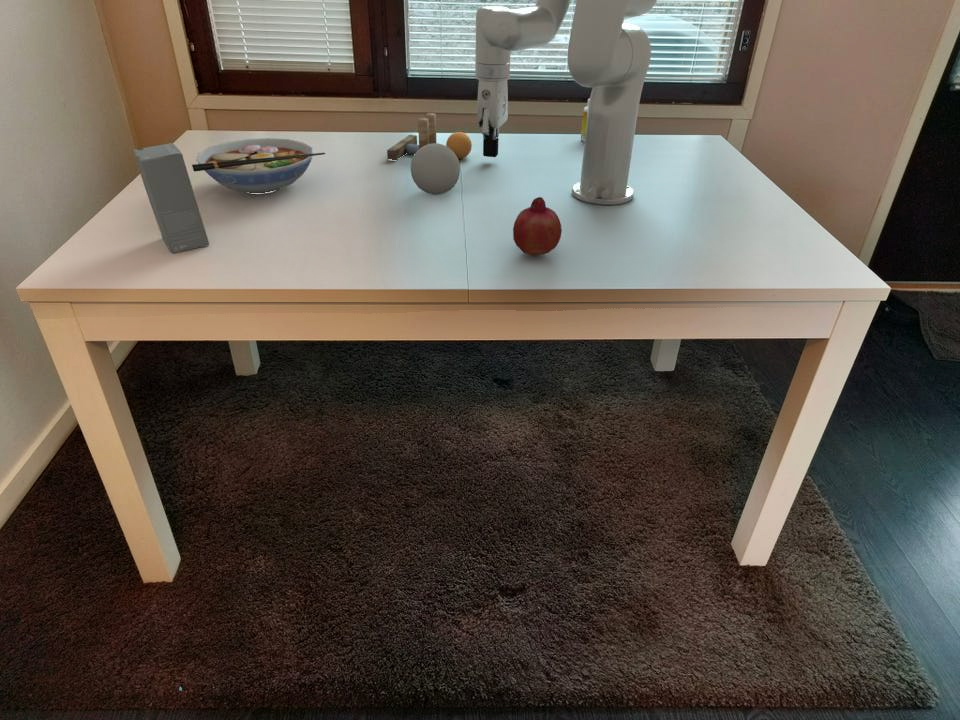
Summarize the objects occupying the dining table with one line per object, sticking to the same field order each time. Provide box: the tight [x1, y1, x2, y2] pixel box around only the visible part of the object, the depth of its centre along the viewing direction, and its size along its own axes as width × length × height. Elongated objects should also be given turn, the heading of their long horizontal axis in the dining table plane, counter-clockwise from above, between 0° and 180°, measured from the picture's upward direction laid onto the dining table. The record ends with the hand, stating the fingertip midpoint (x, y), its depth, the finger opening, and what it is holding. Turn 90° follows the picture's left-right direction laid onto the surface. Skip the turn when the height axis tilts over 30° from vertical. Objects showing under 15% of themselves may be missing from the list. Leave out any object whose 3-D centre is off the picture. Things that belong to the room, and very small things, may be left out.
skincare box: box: [132, 142, 210, 254], centre depth 107 cm, size 8×7×16 cm
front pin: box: [406, 144, 419, 155], centre depth 154 cm, size 2×2×9 cm
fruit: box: [512, 196, 563, 256], centre depth 106 cm, size 8×8×10 cm
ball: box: [410, 142, 461, 196], centre depth 130 cm, size 10×10×10 cm
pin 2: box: [425, 112, 438, 144], centre depth 154 cm, size 2×2×9 cm
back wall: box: [386, 134, 418, 161], centre depth 155 cm, size 14×2×2 cm, turn 164°
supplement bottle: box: [580, 98, 590, 143], centre depth 165 cm, size 6×6×10 cm
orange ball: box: [445, 131, 473, 160], centre depth 152 cm, size 6×6×6 cm
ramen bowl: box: [191, 137, 326, 194], centre depth 132 cm, size 25×23×8 cm
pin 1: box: [417, 117, 429, 149], centre depth 150 cm, size 2×2×9 cm
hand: (490, 155), depth 150 cm, fingers closed
